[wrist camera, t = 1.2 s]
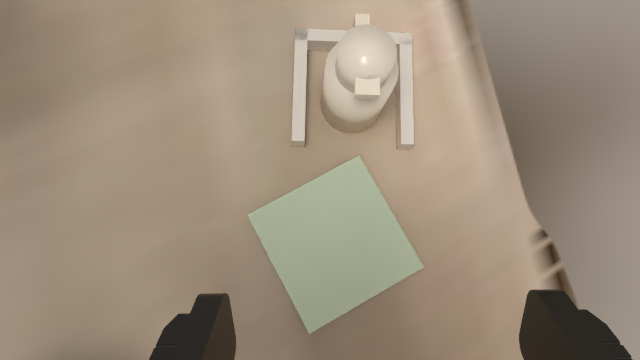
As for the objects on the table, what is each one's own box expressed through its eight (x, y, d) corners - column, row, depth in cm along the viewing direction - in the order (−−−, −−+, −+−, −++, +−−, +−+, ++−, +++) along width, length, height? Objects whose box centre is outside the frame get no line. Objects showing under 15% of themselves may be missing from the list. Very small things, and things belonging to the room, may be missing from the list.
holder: (408, 149, 42) (413, 144, 40) (292, 146, 42) (291, 140, 40) (406, 43, 44) (411, 33, 42) (295, 38, 44) (295, 28, 42)
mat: (247, 215, 40) (246, 214, 40) (358, 156, 42) (359, 155, 41) (309, 332, 39) (309, 334, 38) (422, 267, 40) (424, 267, 39)
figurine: (381, 138, 42) (408, 96, 31) (320, 136, 42) (326, 93, 31) (380, 60, 44) (406, -6, 33) (321, 58, 44) (328, -9, 33)
